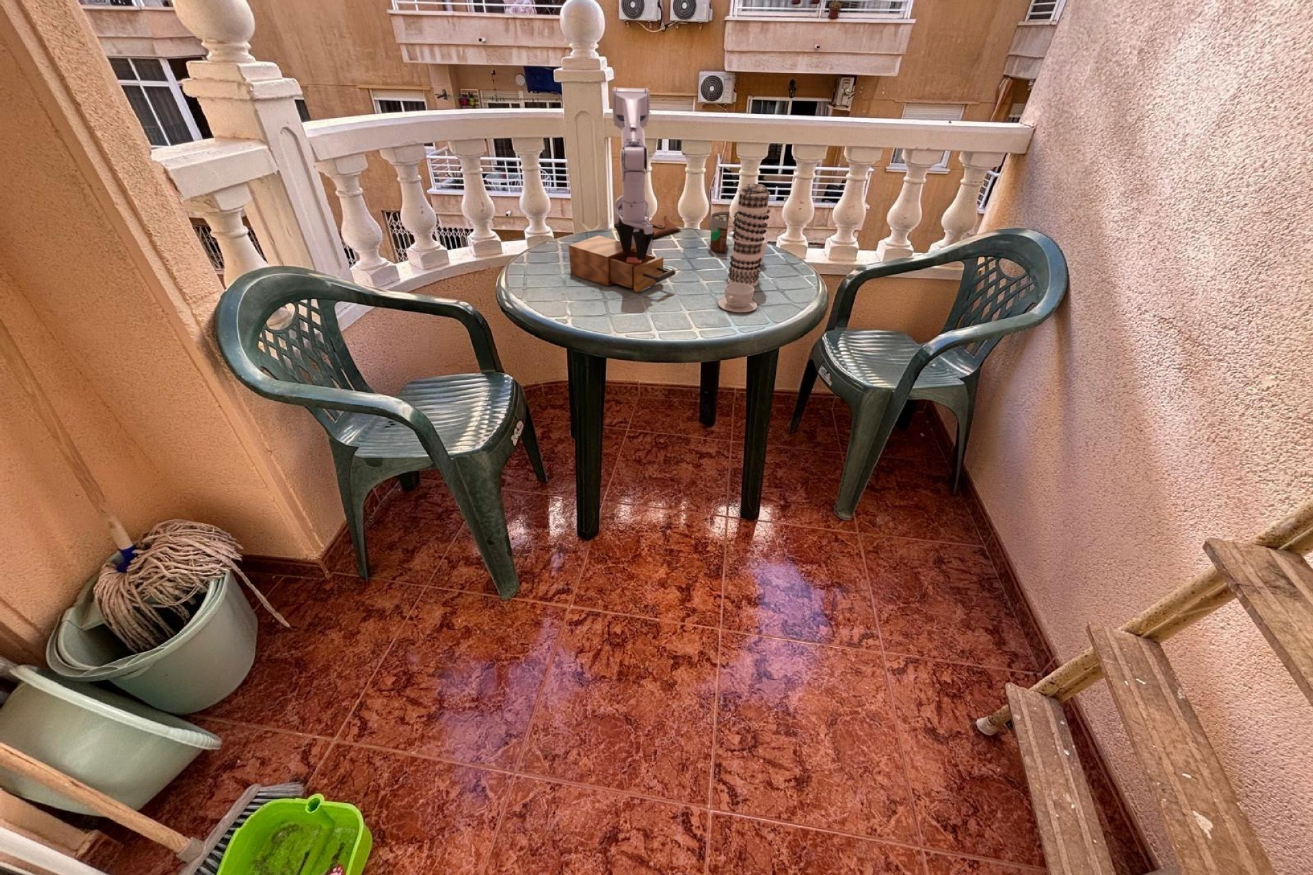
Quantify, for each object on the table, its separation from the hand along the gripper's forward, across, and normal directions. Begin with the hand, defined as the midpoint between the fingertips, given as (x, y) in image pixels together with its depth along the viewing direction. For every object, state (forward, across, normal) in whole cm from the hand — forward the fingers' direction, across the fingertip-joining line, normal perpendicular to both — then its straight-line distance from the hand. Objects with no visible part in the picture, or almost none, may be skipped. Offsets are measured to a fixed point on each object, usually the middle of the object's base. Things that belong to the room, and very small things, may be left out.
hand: (633, 255), depth 141 cm
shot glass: (+8, -4, -40) cm, 41 cm away
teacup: (+8, -26, -15) cm, 31 cm away
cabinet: (+8, +11, +4) cm, 14 cm away
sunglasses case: (+8, +35, -31) cm, 48 cm away
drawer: (+7, -2, -1) cm, 7 cm away
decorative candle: (+8, -14, -27) cm, 32 cm away
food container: (+8, +13, -40) cm, 42 cm away
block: (+6, 0, 0) cm, 6 cm away
